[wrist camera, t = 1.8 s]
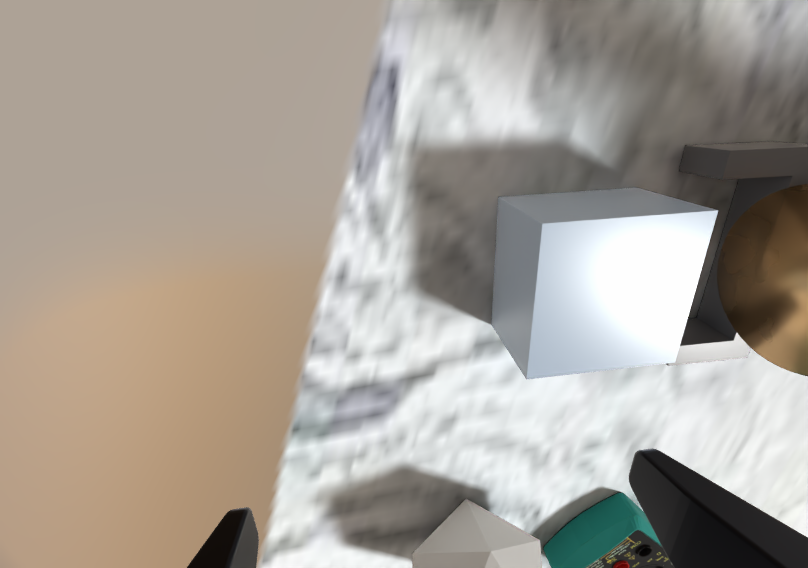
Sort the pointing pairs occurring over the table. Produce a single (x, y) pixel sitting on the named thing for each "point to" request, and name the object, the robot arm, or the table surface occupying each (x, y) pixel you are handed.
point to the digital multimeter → (608, 539)
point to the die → (477, 542)
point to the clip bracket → (758, 177)
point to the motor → (771, 279)
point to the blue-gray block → (596, 278)
